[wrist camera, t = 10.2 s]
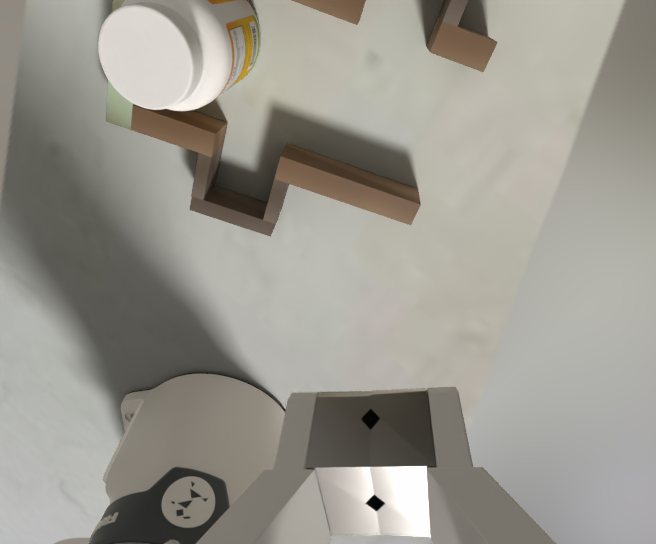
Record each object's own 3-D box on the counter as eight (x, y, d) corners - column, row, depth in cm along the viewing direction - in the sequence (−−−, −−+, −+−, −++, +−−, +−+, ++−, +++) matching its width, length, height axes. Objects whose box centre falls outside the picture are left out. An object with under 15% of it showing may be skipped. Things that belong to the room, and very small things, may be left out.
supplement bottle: (152, 17, 27) (51, 36, 19) (223, -43, 25) (145, -52, 17) (211, 101, 29) (143, 149, 21) (281, 51, 27) (236, 84, 19)
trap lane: (386, 256, 34) (387, 274, 32) (121, 167, 32) (102, 180, 30) (526, -47, 24) (540, -50, 22) (149, -199, 22) (124, -218, 20)
